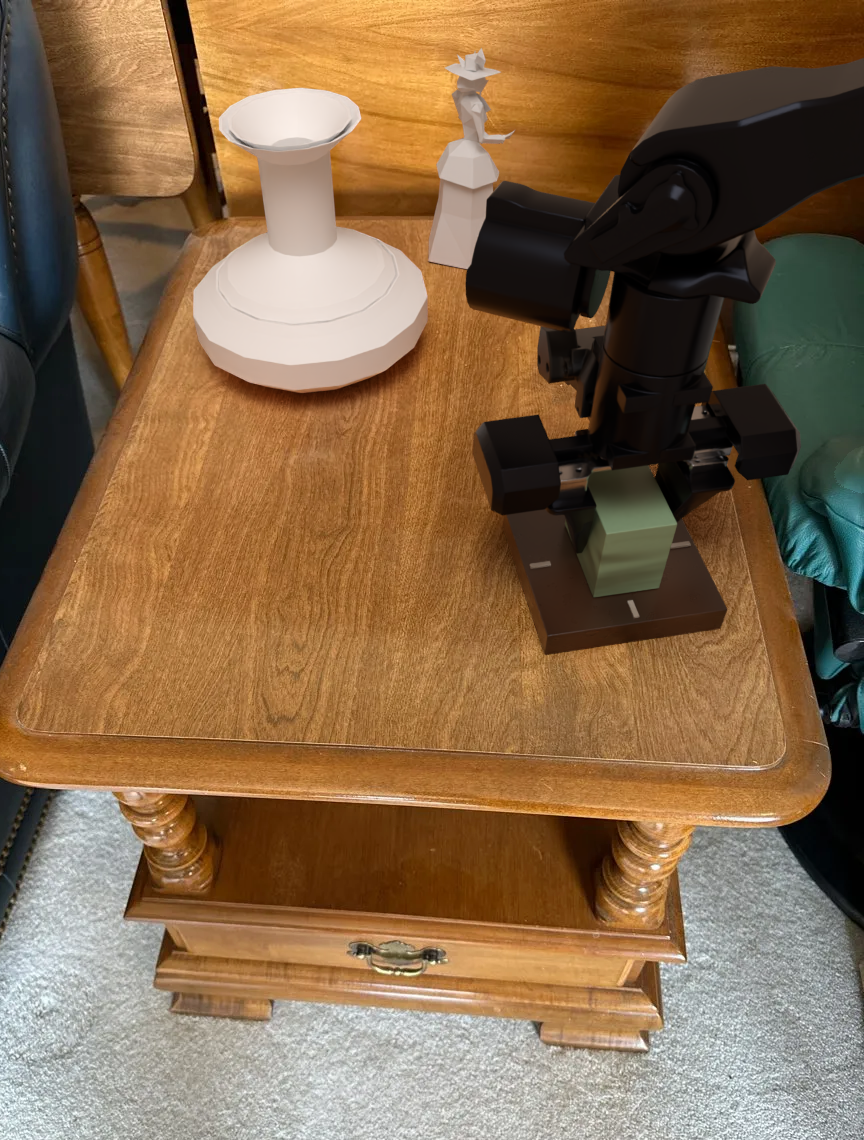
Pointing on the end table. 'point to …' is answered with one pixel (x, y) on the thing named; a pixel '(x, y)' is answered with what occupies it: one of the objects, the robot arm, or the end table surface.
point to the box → (627, 532)
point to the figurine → (464, 170)
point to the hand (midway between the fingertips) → (612, 543)
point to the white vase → (305, 262)
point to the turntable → (591, 621)
